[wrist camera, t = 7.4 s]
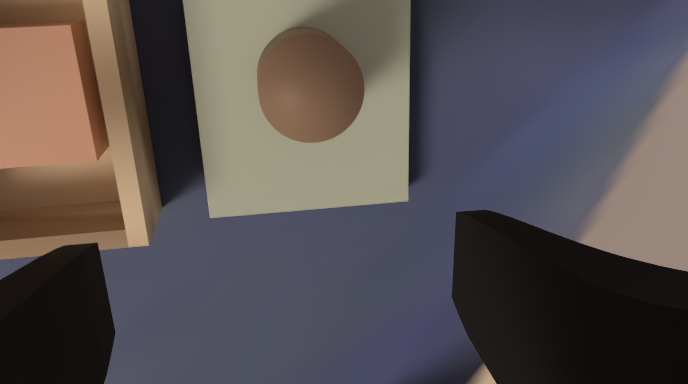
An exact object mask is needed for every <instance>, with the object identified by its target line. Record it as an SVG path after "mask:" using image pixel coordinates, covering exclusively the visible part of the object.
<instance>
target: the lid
mask: <svg viewBox="0 0 688 384" xmlns="http://www.w3.org/2000/svg"><path fill="white" fill-rule="evenodd" d="M183 6H184V14H185V22H186V31H187V39H188V47H189V55H190V63H191V71H192V79H193V87H194V95H195V103H196V111H197V119H198V127H199V135H200V143H201V151H202V159H203V167H204V175H205V183H206V191H207V199H208V207H209V215H210V218H218V217H229V216H241V215H252V214H264V213H275V212H287V211H299V210H310V209H322V208H333V207H345V206H356V205H368V204H379V203H391V202H402V201H408V172H409V89H410V7H411V0H183Z"/></svg>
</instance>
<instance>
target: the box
mask: <svg viewBox="0 0 688 384" xmlns="http://www.w3.org/2000/svg"><path fill="white" fill-rule="evenodd" d="M82 20H84V22H85V28H86V33H87V38H88V43H89V49H90V54H91V59H92V65H93V70H94V75H95V80H96V86H97V91H98V96H99V102H100V107H101V112H102V117H103V123H104V128H105V133H106V139H107V144H108V148H107V149H106V151H105V152H104V153H103V154H102V156H101V157H100V158H99V160H98V161H95V162H82V163H69V164H56V165H42V166H29V167H16V168H3V169H0V260H1V259H12V258H22V257H33V256H43V255H45V254H46V253H48V252H50V251H52V250H54V249H56V248H59V247H62V246H64V245H74V244H86V243H98V247H99V250H107V249H117V248H128V247H138V246H149V244H150V241H151V238H152V236H153V233H154V230H155V227H156V224H157V221H158V219H159V216H160V213H161V210H162V203H161V197H160V191H159V185H158V178H157V172H156V166H155V160H154V153H153V147H152V141H151V135H150V128H149V122H148V116H147V110H146V103H145V97H144V91H143V85H142V78H141V72H140V66H139V60H138V53H137V47H136V41H135V35H134V28H133V22H132V16H131V10H130V3H129V0H0V24H16V23H38V22H60V21H82Z"/></svg>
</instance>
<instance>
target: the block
mask: <svg viewBox="0 0 688 384" xmlns="http://www.w3.org/2000/svg"><path fill="white" fill-rule="evenodd" d="M107 148H108V144H107V139H106V133H105V128H104V123H103V117H102V112H101V107H100V102H99V96H98V91H97V86H96V80H95V75H94V70H93V65H92V59H91V54H90V49H89V43H88V38H87V33H86V28H85V22H84V20H82V21H60V22H38V23H16V24H0V169H3V168H16V167H29V166H42V165H56V164H69V163H82V162H95V161H98V160H99V158H100V157H101V156H102V154H103V153H104V152H105V151H106V149H107Z"/></svg>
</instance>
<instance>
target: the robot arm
mask: <svg viewBox="0 0 688 384" xmlns="http://www.w3.org/2000/svg"><path fill="white" fill-rule="evenodd" d="M452 299H453V301H454V304H455V306H456V309H457V311H458V314H459V316H460V319H461V321H462V323H463V326H464V328H465V330H466V333H467V335H468V337H469V338H470V340H471V342H472V344H473V345H474V347H475V349H476V350H477V352H478V354H479V355H480V357H481V359H482V360H483V362H484V364H485V365H486V367H487V369H488V370H489V372H490V373H491V375H492V377H493V378H494V380H495V381H496V383H497V384H688V272H687V271H682V270H677V269H672V268H667V267H662V266H658V265H654V264H650V263H646V262H642V261H638V260H634V259H630V258H626V257H622V256H619V255H615V254H612V253H609V252H606V251H602V250H599V249H596V248H593V247H590V246H587V245H584V244H581V243H578V242H575V241H573V240H570V239H567V238H564V237H561V236H559V235H556V234H553V233H551V232H548V231H545V230H543V229H540V228H538V227H535V226H532V225H530V224H527V223H525V222H522V221H519V220H517V219H514V218H511V217H508V216H505V215H502V214H499V213H496V212H492V211H488V210H477V211H465V212H456V226H455V246H454V267H453V287H452ZM114 337H115V328H114V323H113V318H112V313H111V308H110V303H109V298H108V293H107V288H106V283H105V277H104V272H103V267H102V262H101V257H100V252H99V247H98V243H86V244H74V245H64V246H62V247H59V248H56V249H54V250H52V251H50V252H48V253H46V254H45V255H43V256H41V257H39V258H37V259H36V260H34V261H32V262H30V263H29V264H27V265H25V266H23V267H22V268H20V269H18V270H17V271H15V272H13V273H12V274H10V275H8V276H6V277H5V278H3V279H1V280H0V384H104V381H105V378H106V375H107V371H108V366H109V362H110V357H111V352H112V347H113V342H114Z"/></svg>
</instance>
